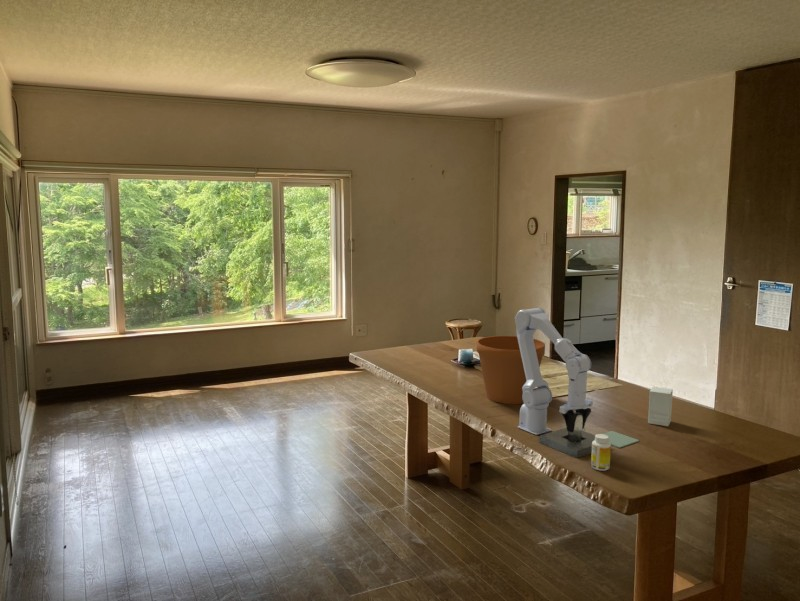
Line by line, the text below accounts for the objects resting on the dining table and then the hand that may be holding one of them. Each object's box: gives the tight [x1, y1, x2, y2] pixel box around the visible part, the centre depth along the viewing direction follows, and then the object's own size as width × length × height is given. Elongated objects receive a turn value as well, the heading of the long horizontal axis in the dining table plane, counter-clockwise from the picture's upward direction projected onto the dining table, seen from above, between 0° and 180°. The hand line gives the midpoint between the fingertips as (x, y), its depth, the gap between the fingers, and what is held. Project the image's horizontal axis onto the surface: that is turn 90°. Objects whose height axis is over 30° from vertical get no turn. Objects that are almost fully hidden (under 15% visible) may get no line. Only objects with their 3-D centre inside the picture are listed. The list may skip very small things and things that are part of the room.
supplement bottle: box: [590, 433, 612, 472], centre depth 192 cm, size 6×6×10 cm
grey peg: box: [568, 411, 583, 442], centre depth 210 cm, size 4×4×9 cm
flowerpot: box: [476, 335, 546, 405], centre depth 262 cm, size 28×28×24 cm
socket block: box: [538, 427, 609, 459], centre depth 211 cm, size 16×16×2 cm
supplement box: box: [647, 386, 674, 427], centre depth 233 cm, size 7×7×13 cm
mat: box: [603, 430, 640, 449], centre depth 216 cm, size 11×11×1 cm
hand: (575, 430), depth 210 cm, fingers closed on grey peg, 4 cm apart
